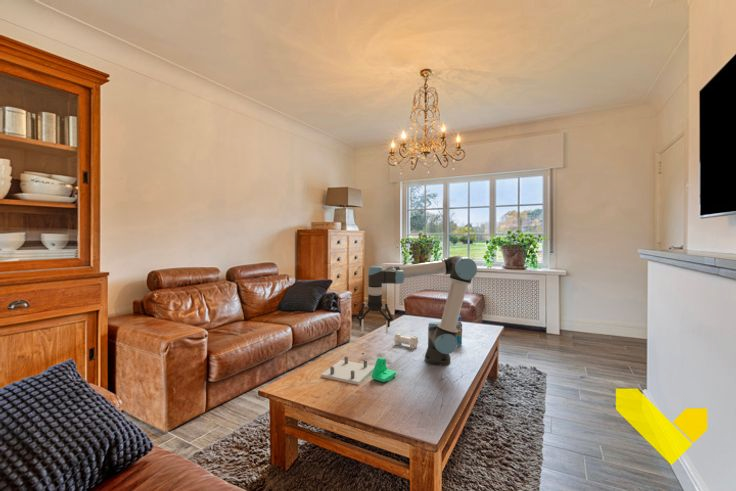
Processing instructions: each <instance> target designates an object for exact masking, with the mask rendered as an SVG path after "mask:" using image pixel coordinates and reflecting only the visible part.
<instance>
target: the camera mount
mask: <svg viewBox="0 0 736 491" xmlns="http://www.w3.org/2000/svg"><path fill="white" fill-rule="evenodd" d="M374 366H375V367H374V370H373V372H372V373H371V379H373V380H376V381H379V382H382V383H385V382H387V383H388V382H390V381H392V380H393V379H394V377H395V376H397V371H396V370H392V369H390V368H388V367H387V359H386V358H383V357H377V359H376V361H375V365H374Z"/></svg>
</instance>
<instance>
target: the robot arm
mask: <svg viewBox="0 0 736 491" xmlns="http://www.w3.org/2000/svg"><path fill="white" fill-rule="evenodd" d="M477 272H478V266H477V264H476V262H475V260H474V259H472V258H470V257H468V256H463V255H454V256H449V257H445V258H441V259H440V260H437V261H427V262H421V263H415V264H407V265H400V266H388V267H386V268H385V269H383V267H382V266H381V265H370V266H369V267H368V276H367V278H368V287H367V288H368V290H367V293H368V295H367V296H368V297H367V302H365V301H363V302H362V304H361V307H360V310H359V312H358V314H357V315H356V318H355V319H356V320H359V326H360V327H361V331H360V332H361V333H363V332H364V318H365V317H366V316H367V315H368V313H369V312H370V311H371V312H379V313H380V314H381V315H382V316H383V317H384V319H385V320H386V322H385V334H388V333H389V331H388V330H389V328H390V325H391V323H390V322H393V321H394V318H393V315H392V313H391V311H390V309H389V306H388V303H387V302H385V303H383V302H382V301H383V299H382V297H383V296H382V294H383V284H387V285H388V284H390V285H392V284H394V285H398V284H400V285H401V284H403V283H404V282H405V279H409V278H417V277H426V276H432V275H433V276H434V275H439V274H440V275H441V274H443V275H444V276H445V275H449V280H450V282H451V283H450V286H449V289H448V294H447V297H446V301H445V306H444V309H443V313H442V315H441V316H442V317H441V320H440V321H431V322H429V323H428V327H427V329H428V330H427V331H428V332H427V338H428V339H427V349H426V352H425V354H424V362H426V363H427V364H430V365H433V366H434V365H435V366H446V365H447V366H448V365H449V364H450V363H451V353H454V352H455V351H456V349H457V348H458V346H457V339H456V337H457V333H458V330H457V328H456V326H457V322H458V318H459V315H460V314H461V311H462V306H463V302H464V298H465V296H466V291H467V286H469V285H471V283H472V280H473V278H475V276H476V275H477ZM365 307H368V308H367V310H366V311H365V312H364V313H363V314H362V312H363V311H364V309H365ZM382 307H384V308H385V310H386V312H385V311H384V310H383V308H382ZM387 314H388V315H387Z"/></svg>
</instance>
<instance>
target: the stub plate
mask: <svg viewBox="0 0 736 491" xmlns="http://www.w3.org/2000/svg"><path fill="white" fill-rule="evenodd" d="M374 367H375V365H371V364H368V359H363V363H361V362H360V363H359V362H354V361H350V360H349V356H347V355H345V356H344V359H340V360H339V361H337V362H336V363H335V364H333V365H332V366H330V367H329V368H327V369H326V370H325V371H323V372H322V373H321V375H320V377H321V378H323V379H329V380H333V381H338V382H339V381H340V382H344V383H347V384H348V383H349V384H352V385H358V386H359V385H360V384H361V383H362V382H364V381H365V380H366V379H367V378H368V377H369V376H370V375H372V373H373V370H374Z"/></svg>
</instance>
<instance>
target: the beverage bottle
mask: <svg viewBox="0 0 736 491" xmlns="http://www.w3.org/2000/svg"><path fill="white" fill-rule="evenodd" d="M461 321H462V316H461V315H460V314H459V318H458V322H457V326H456V328H457V330H458V333H457V337H456V339H457V347H460V346H462V344H463V324H462V322H461Z"/></svg>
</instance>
